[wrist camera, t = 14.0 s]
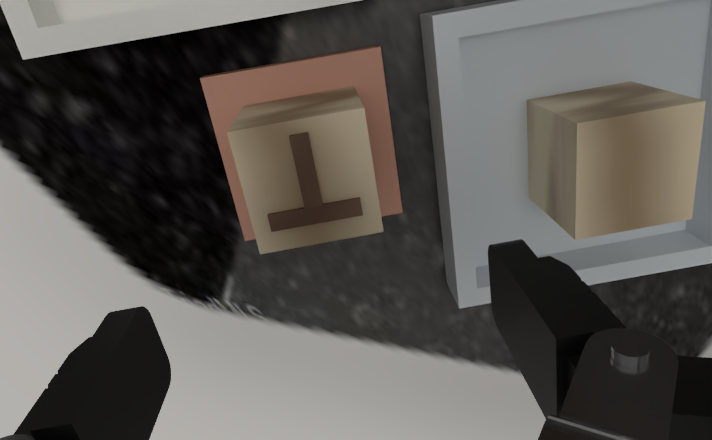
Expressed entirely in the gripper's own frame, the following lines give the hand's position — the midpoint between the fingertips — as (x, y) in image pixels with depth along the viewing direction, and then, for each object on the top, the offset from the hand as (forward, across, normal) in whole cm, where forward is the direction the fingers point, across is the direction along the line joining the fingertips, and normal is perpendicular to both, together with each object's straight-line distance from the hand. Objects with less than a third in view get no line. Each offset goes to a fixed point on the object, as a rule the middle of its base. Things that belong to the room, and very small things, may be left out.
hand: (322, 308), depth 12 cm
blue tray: (+14, -12, +2) cm, 19 cm away
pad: (+14, +1, 0) cm, 14 cm away
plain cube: (+14, -12, +2) cm, 18 cm away
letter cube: (+13, 0, 0) cm, 13 cm away
